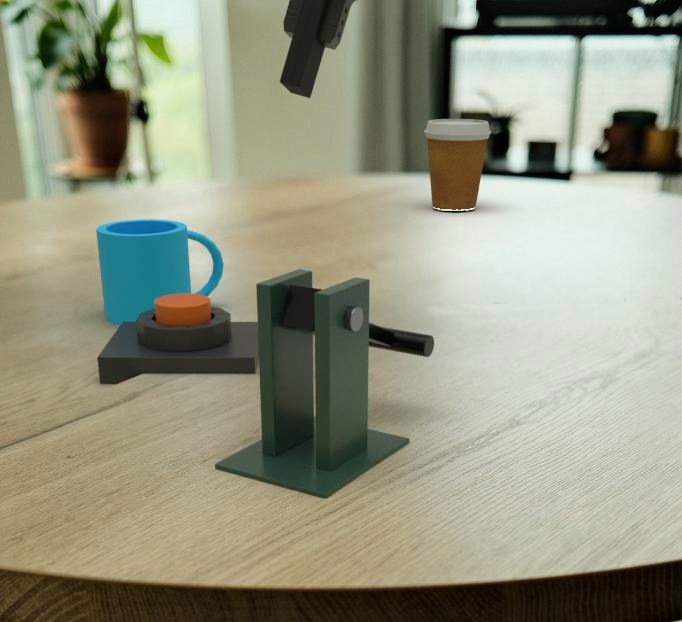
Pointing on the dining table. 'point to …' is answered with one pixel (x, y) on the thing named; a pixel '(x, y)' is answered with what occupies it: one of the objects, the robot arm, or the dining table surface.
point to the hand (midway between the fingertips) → (295, 89)
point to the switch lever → (303, 319)
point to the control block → (179, 348)
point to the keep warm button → (182, 309)
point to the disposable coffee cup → (456, 161)
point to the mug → (147, 265)
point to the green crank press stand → (298, 393)
